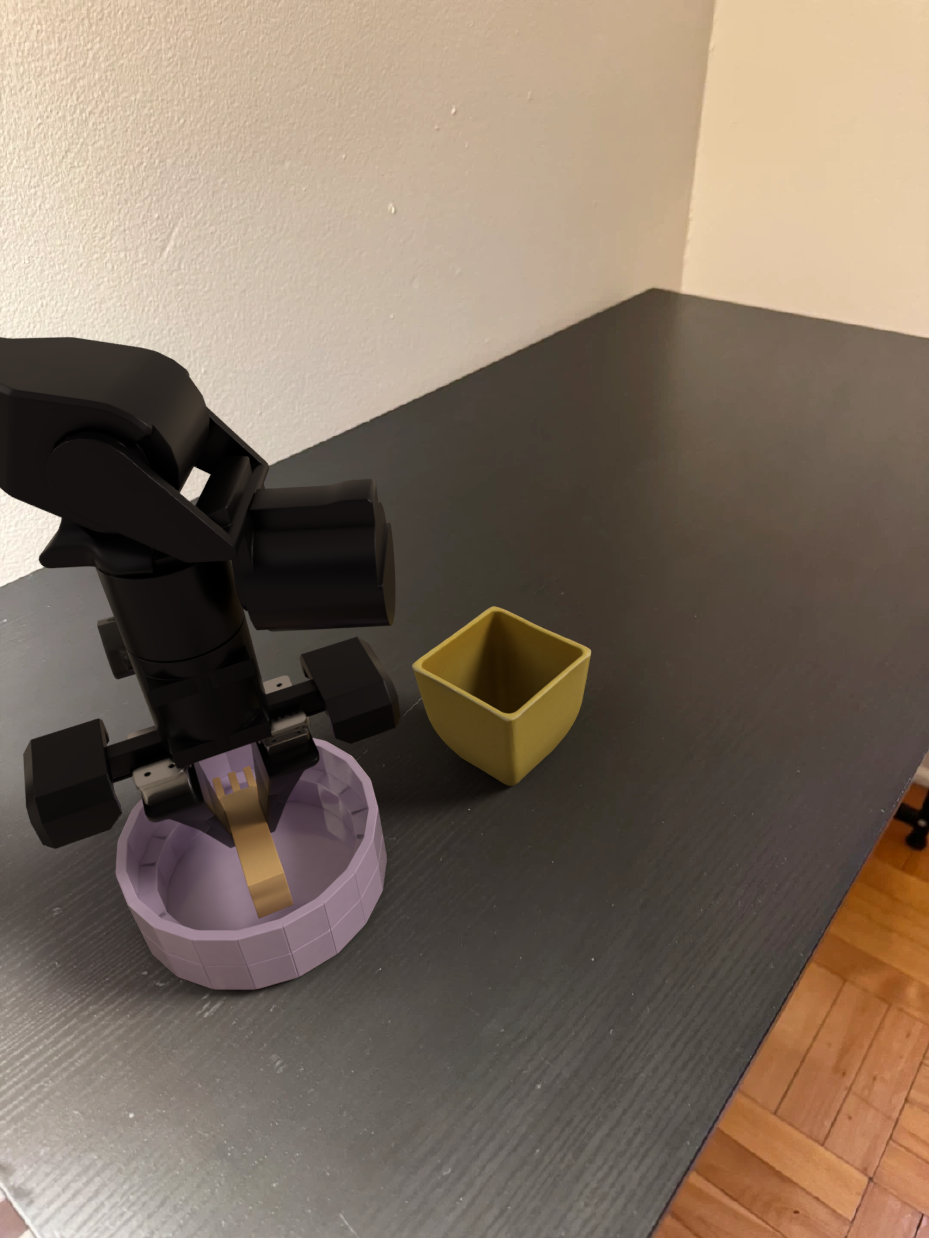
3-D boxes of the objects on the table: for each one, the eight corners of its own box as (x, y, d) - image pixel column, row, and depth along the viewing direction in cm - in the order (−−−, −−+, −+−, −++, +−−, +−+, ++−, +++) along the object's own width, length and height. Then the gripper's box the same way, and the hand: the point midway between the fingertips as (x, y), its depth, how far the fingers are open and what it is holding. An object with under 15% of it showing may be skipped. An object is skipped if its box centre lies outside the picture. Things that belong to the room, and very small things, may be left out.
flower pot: (419, 759, 61) (408, 663, 56) (497, 695, 66) (493, 602, 61) (514, 820, 56) (511, 721, 51) (590, 746, 61) (595, 649, 56)
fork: (300, 902, 47) (291, 869, 46) (251, 922, 46) (240, 889, 45) (254, 772, 55) (244, 740, 54) (212, 787, 55) (200, 755, 53)
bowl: (90, 951, 50) (58, 895, 47) (230, 769, 61) (212, 713, 58) (316, 1031, 45) (298, 975, 42) (423, 818, 57) (416, 761, 53)
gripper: (321, 505, 49) (356, 702, 59) (-25, 595, 44) (75, 797, 53) (388, 602, 41) (416, 813, 50) (-27, 729, 35) (92, 940, 45)
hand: (251, 834), depth 50 cm, fingers closed on fork, 2 cm apart
